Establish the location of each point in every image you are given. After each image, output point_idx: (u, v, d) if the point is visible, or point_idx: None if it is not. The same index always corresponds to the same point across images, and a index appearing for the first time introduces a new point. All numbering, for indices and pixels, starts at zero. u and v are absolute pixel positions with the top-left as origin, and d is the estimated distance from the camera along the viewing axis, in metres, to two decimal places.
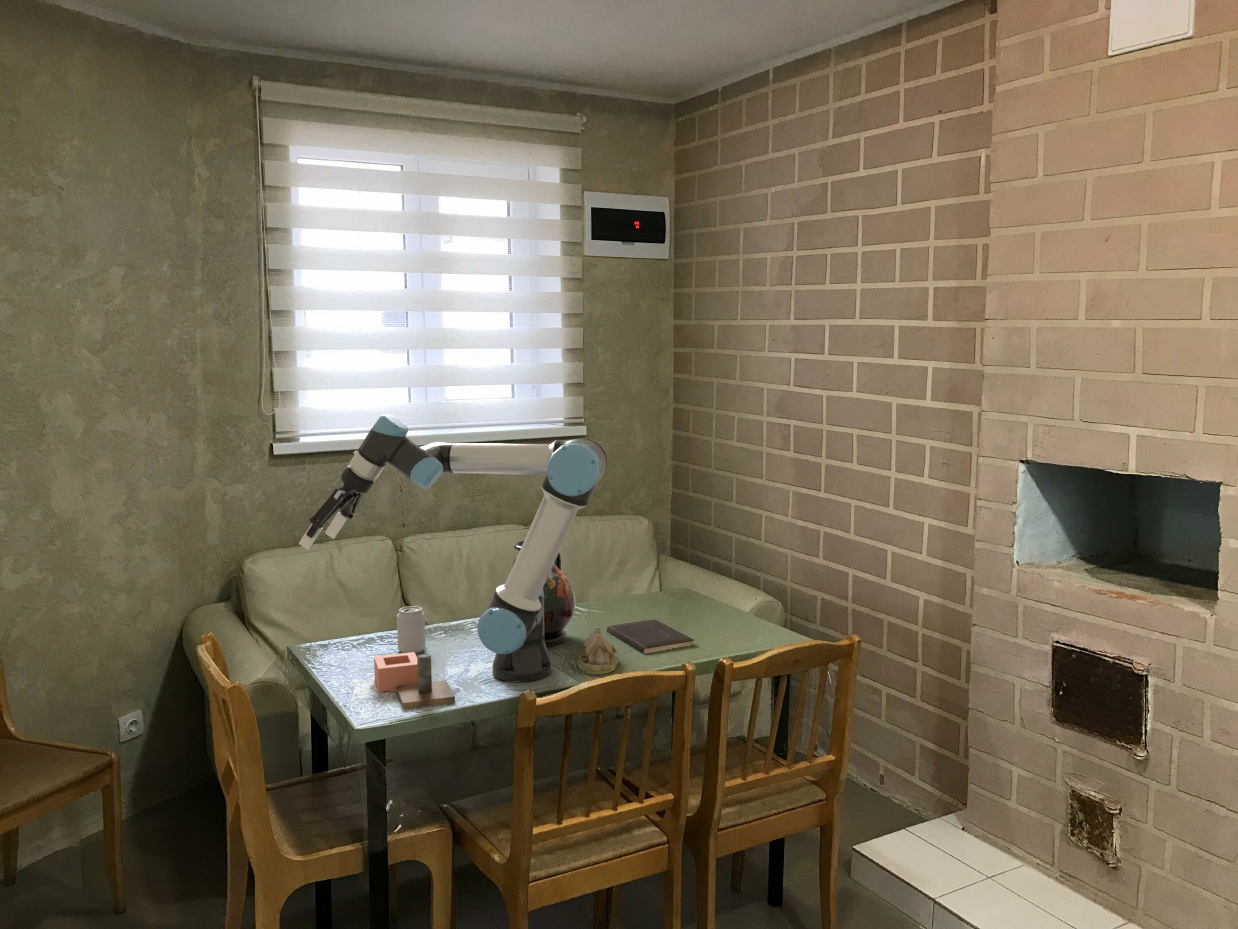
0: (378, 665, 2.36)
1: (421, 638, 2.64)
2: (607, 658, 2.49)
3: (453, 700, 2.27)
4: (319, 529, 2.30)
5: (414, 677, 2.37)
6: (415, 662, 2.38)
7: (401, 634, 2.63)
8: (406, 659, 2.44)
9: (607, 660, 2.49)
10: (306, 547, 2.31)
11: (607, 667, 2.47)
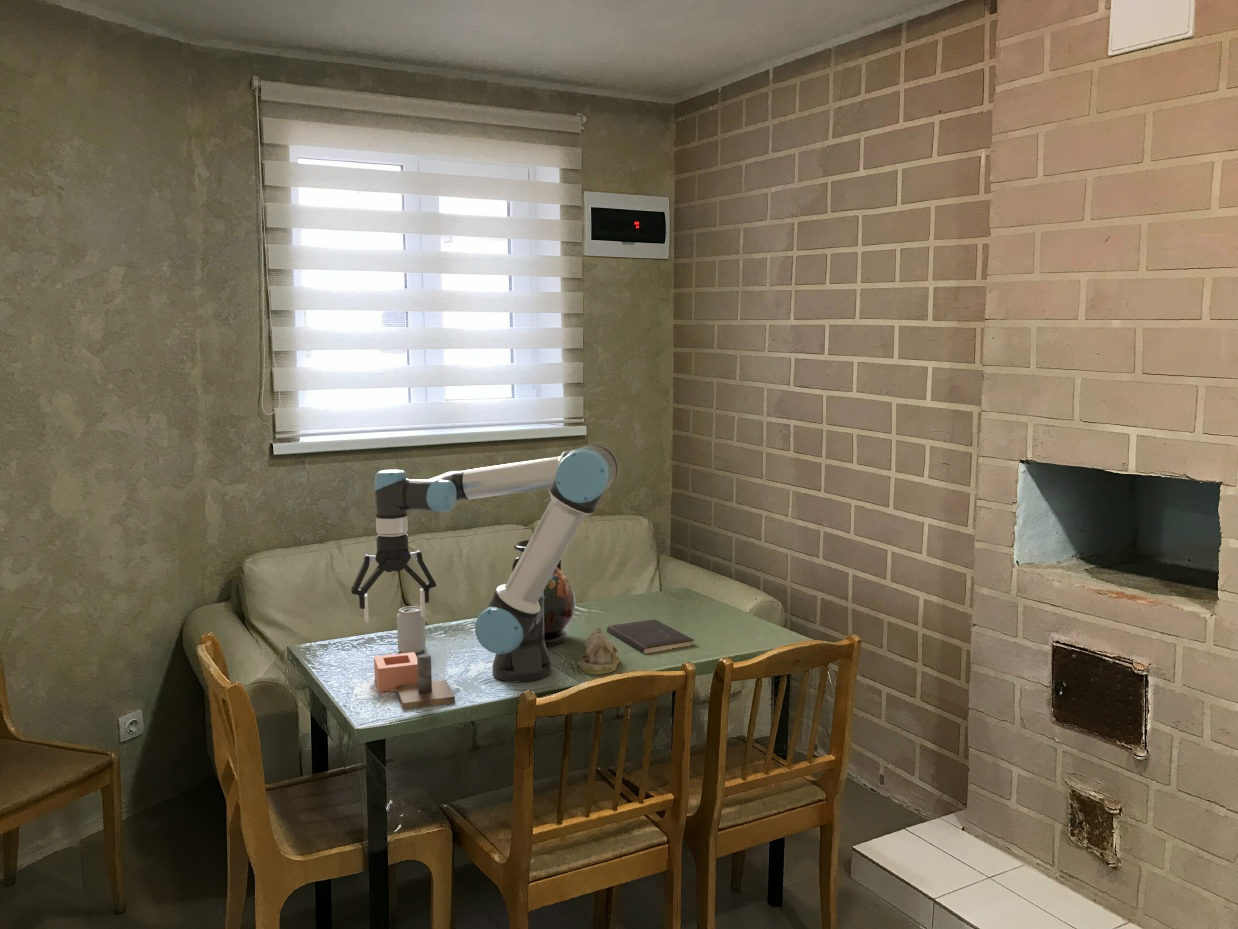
0: (378, 665, 2.36)
1: (421, 638, 2.64)
2: (608, 658, 2.50)
3: (453, 700, 2.27)
4: (364, 598, 2.35)
5: (414, 677, 2.37)
6: (415, 662, 2.38)
7: (401, 634, 2.63)
8: (406, 659, 2.44)
9: (608, 660, 2.50)
10: (365, 620, 2.35)
11: (608, 667, 2.47)
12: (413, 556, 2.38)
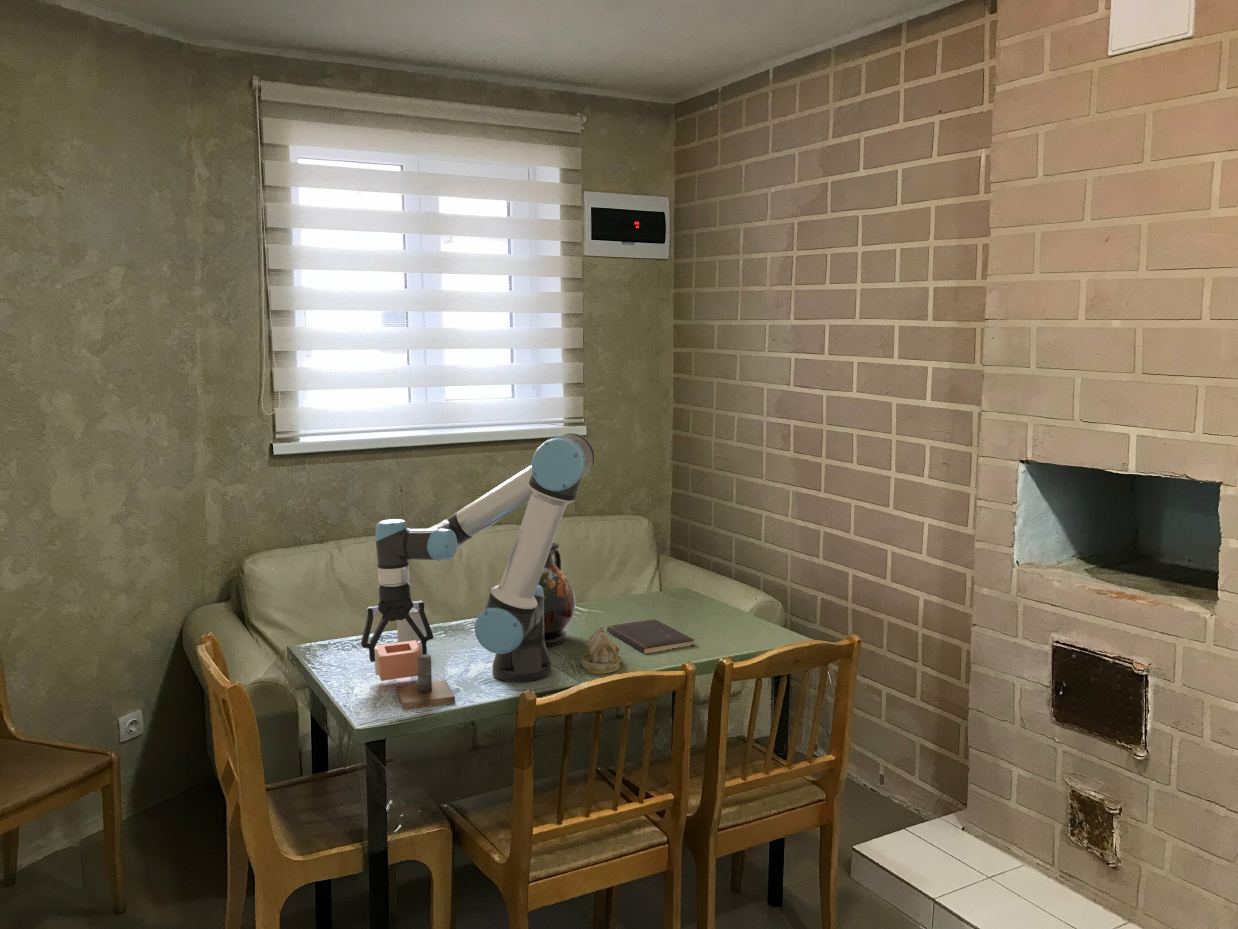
0: (379, 653, 2.36)
1: None
2: (611, 657, 2.50)
3: (453, 700, 2.27)
4: (374, 651, 2.37)
5: (416, 664, 2.36)
6: (416, 650, 2.38)
7: (401, 634, 2.63)
8: (407, 647, 2.43)
9: (611, 659, 2.50)
10: (375, 673, 2.37)
11: (612, 666, 2.48)
12: (415, 605, 2.40)
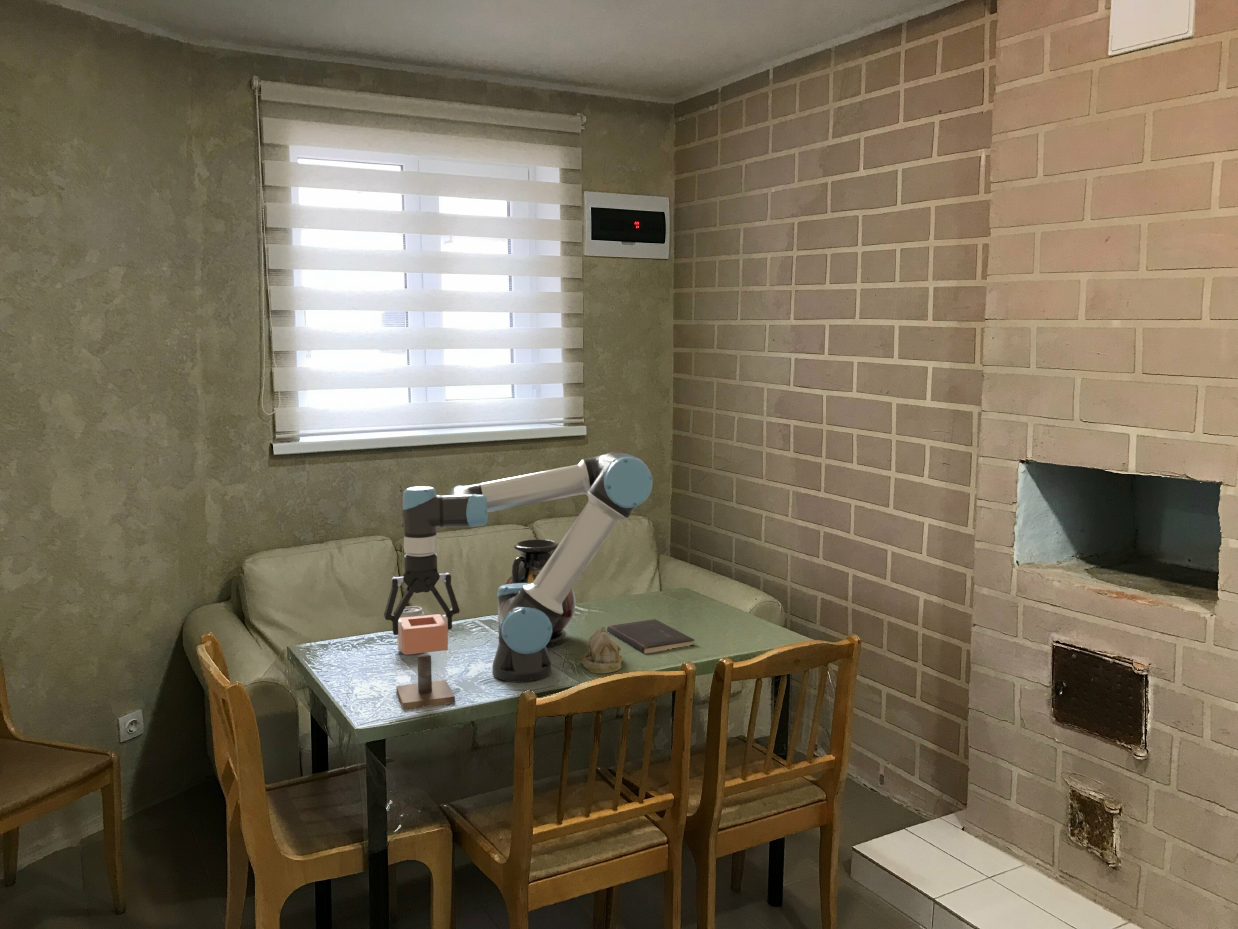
0: (403, 626, 2.25)
1: None
2: (613, 656, 2.51)
3: (453, 700, 2.27)
4: (398, 624, 2.26)
5: (441, 639, 2.26)
6: (442, 623, 2.27)
7: None
8: (432, 621, 2.33)
9: (613, 658, 2.51)
10: (398, 647, 2.27)
11: (615, 665, 2.48)
12: (442, 577, 2.29)
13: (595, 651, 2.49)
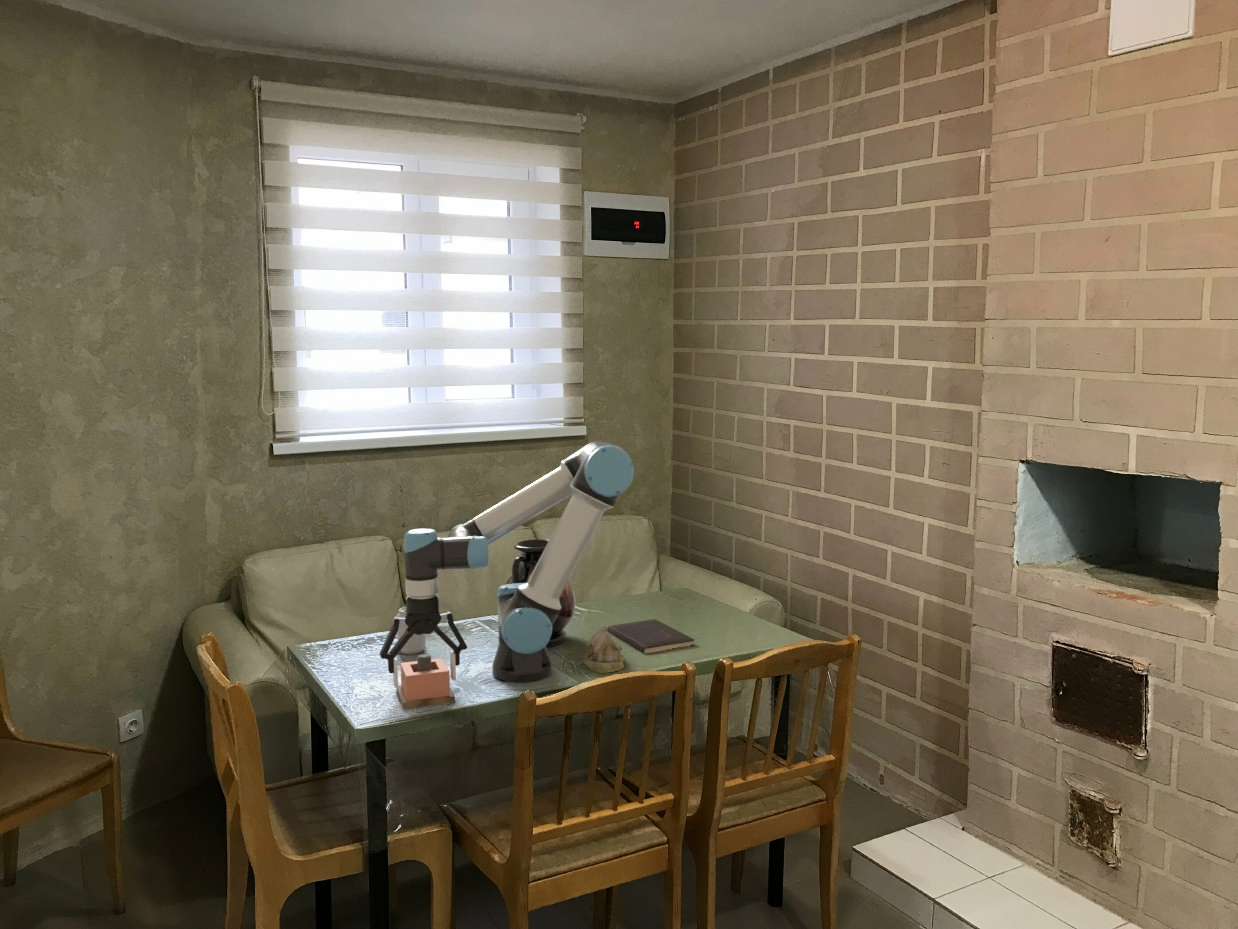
0: (405, 672, 2.26)
1: (421, 638, 2.64)
2: (616, 656, 2.51)
3: (453, 700, 2.27)
4: (393, 662, 2.27)
5: (443, 685, 2.27)
6: (444, 669, 2.28)
7: (401, 634, 2.63)
8: (434, 666, 2.34)
9: (616, 658, 2.51)
10: (394, 685, 2.28)
11: (617, 665, 2.49)
12: (443, 617, 2.30)
13: (598, 651, 2.49)
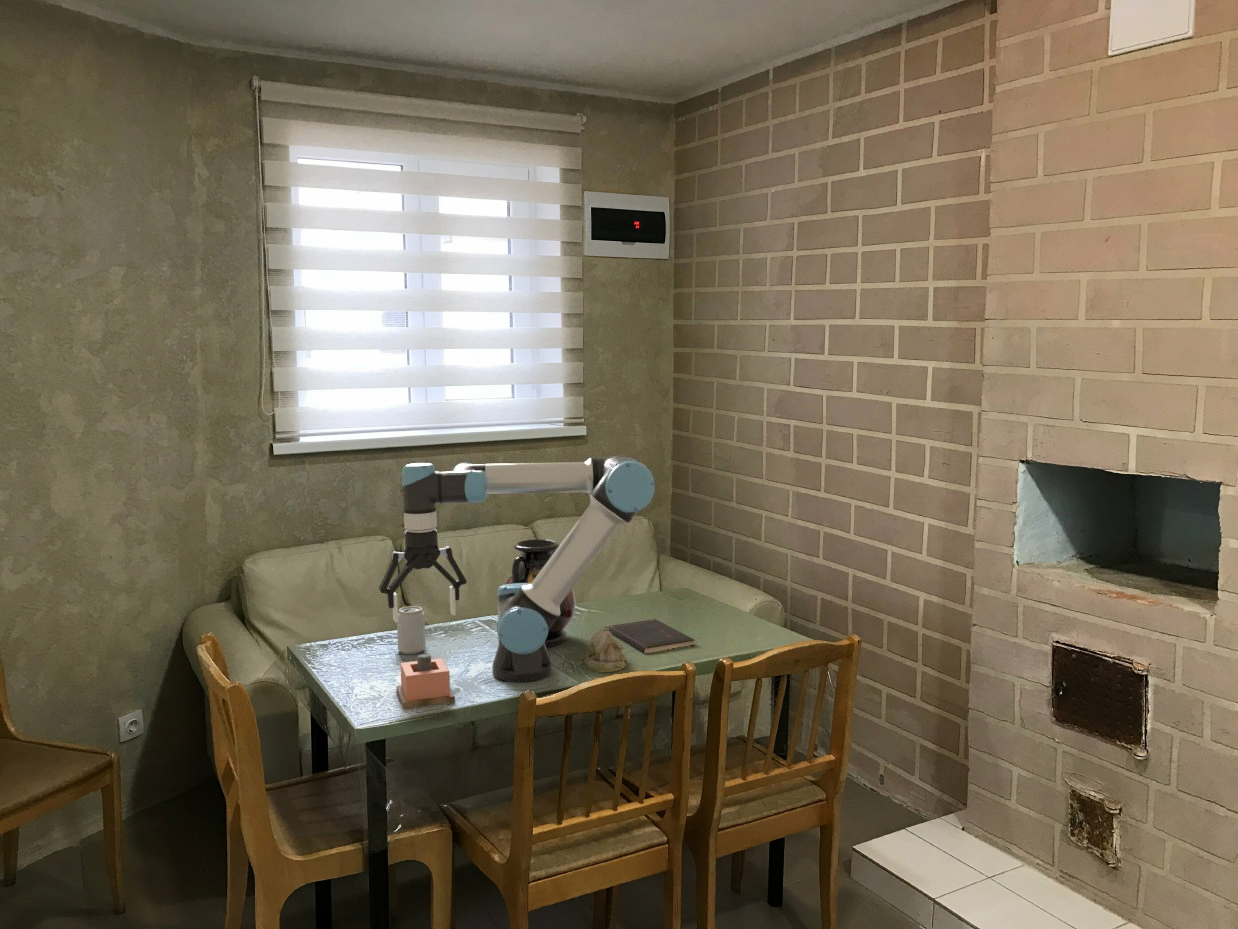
0: (405, 672, 2.26)
1: (421, 638, 2.64)
2: (618, 655, 2.51)
3: (453, 700, 2.27)
4: (393, 597, 2.26)
5: (443, 685, 2.27)
6: (444, 669, 2.28)
7: (401, 634, 2.63)
8: (434, 666, 2.34)
9: (618, 657, 2.52)
10: (394, 620, 2.27)
11: (620, 664, 2.49)
12: (442, 552, 2.30)
13: (600, 650, 2.49)
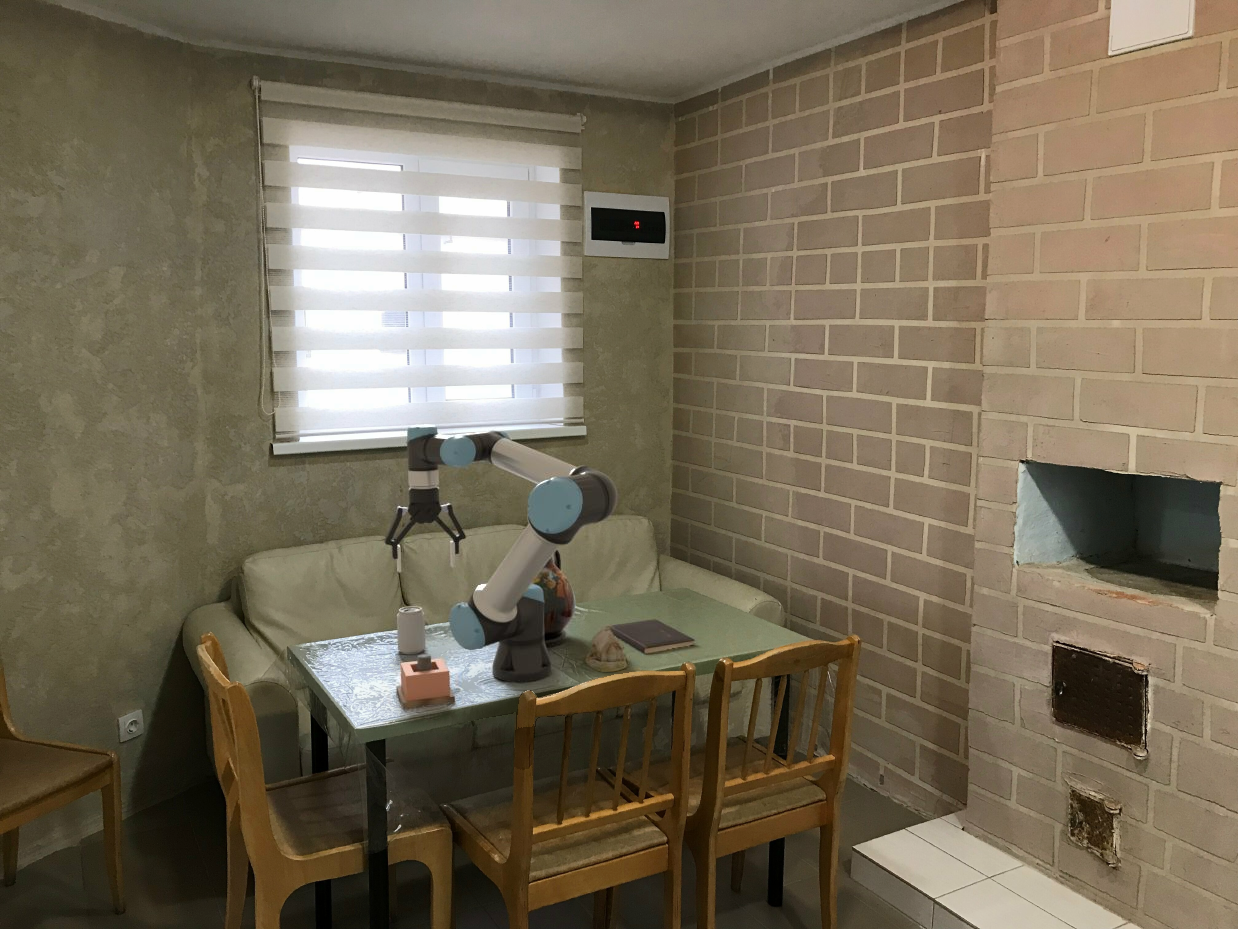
0: (405, 672, 2.26)
1: (421, 638, 2.64)
2: (619, 655, 2.52)
3: (453, 700, 2.27)
4: (397, 548, 2.43)
5: (443, 685, 2.27)
6: (444, 669, 2.28)
7: (401, 634, 2.63)
8: (434, 666, 2.34)
9: (619, 657, 2.52)
10: (398, 570, 2.44)
11: (621, 664, 2.49)
12: (444, 508, 2.46)
13: (601, 650, 2.50)
